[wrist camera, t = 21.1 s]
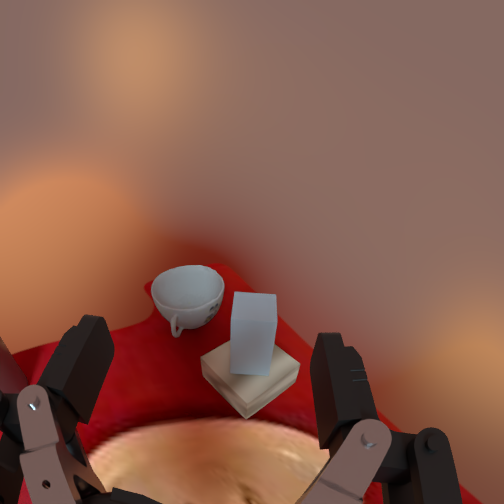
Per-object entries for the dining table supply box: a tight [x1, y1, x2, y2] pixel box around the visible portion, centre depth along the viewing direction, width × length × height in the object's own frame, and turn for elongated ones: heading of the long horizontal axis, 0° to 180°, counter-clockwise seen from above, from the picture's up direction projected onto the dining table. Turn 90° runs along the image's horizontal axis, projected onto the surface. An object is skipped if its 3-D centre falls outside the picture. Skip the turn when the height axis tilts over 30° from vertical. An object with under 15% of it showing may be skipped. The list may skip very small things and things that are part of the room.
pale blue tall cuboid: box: [230, 292, 277, 376], centre depth 38 cm, size 5×5×10 cm
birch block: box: [200, 340, 300, 419], centre depth 41 cm, size 10×10×5 cm
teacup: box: [151, 265, 224, 338], centre depth 50 cm, size 15×12×8 cm
